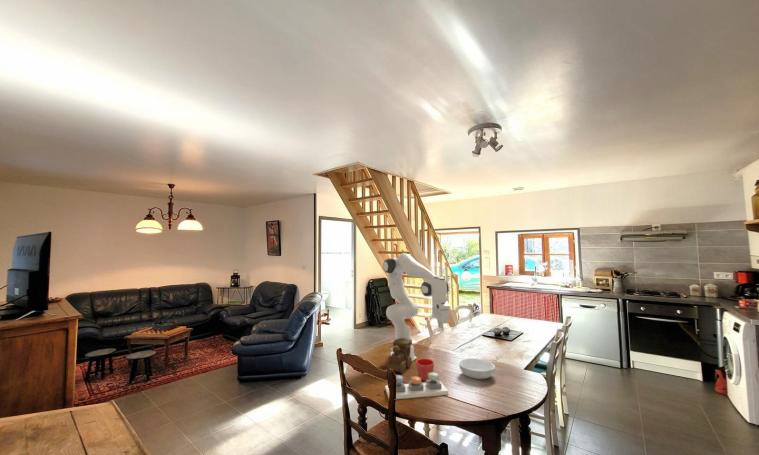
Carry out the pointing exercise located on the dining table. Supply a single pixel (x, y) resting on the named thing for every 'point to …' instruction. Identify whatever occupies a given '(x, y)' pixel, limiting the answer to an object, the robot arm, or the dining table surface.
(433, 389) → the console
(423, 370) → the flower pot
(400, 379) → the slate button
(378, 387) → the dining table surface
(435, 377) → the sage button
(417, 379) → the rust button
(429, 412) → the dining table surface
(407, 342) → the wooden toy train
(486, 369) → the serving bowl
